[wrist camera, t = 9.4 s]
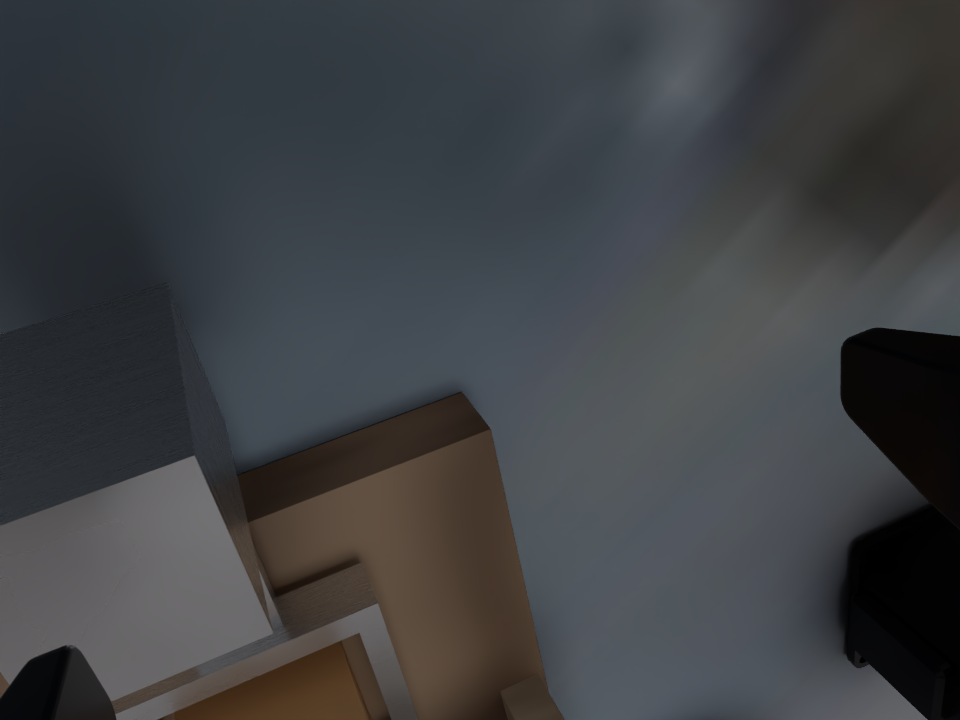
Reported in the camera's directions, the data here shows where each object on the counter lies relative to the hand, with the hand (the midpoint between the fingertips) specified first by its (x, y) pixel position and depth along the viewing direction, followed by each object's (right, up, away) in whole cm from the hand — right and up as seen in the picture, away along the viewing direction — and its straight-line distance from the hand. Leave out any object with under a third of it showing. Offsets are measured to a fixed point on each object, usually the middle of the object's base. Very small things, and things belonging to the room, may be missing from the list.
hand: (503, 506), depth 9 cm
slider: (-6, -3, +10) cm, 12 cm away
